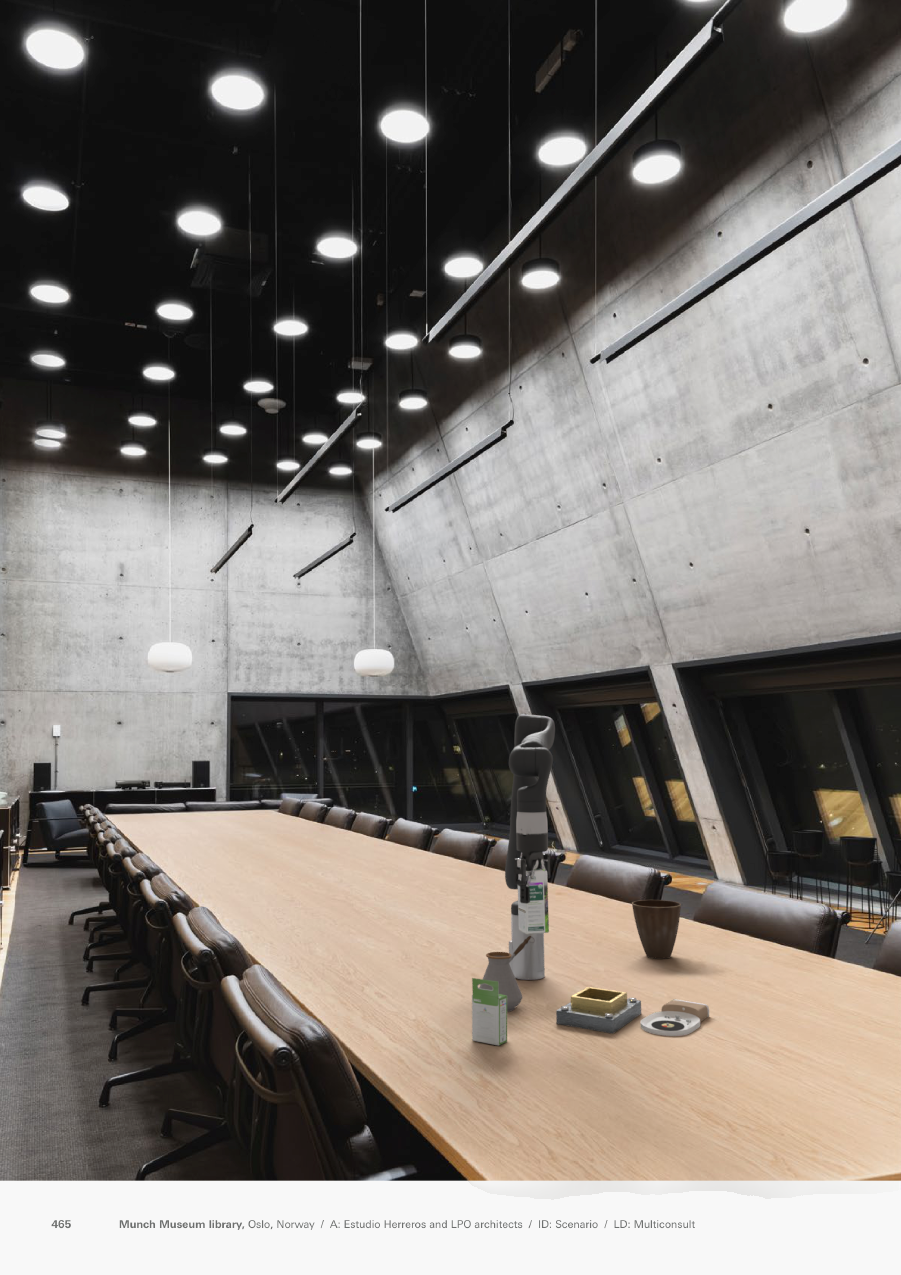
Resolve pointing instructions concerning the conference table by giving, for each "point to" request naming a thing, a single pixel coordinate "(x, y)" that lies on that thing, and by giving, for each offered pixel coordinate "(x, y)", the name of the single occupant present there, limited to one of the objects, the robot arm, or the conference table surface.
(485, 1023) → the ink box
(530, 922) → the syrup box
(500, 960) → the coffee pot
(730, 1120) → the conference table surface
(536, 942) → the robot arm
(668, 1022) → the record player
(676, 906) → the plant pot
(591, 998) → the square socket fixture
